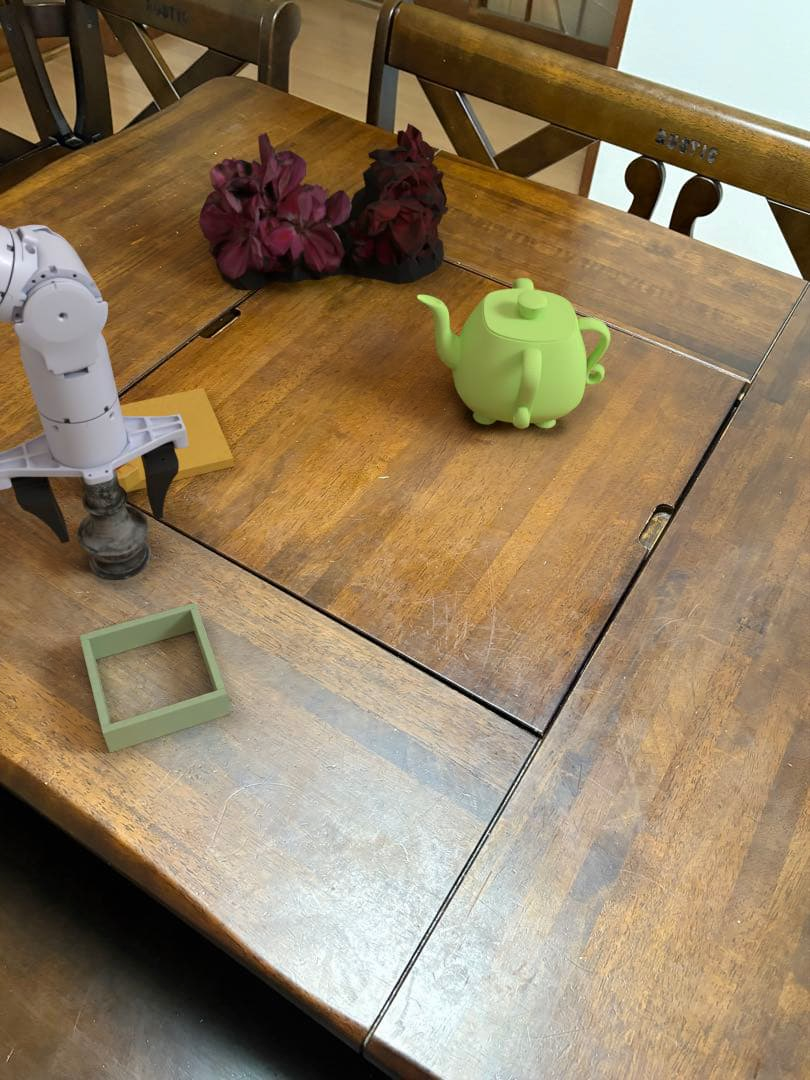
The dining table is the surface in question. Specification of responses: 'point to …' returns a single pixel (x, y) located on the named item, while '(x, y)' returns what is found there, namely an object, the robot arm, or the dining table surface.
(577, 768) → the dining table surface
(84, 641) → the green square tray
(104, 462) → the robot arm
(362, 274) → the flower arrangement
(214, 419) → the control block
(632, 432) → the dining table surface
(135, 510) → the chess piece
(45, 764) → the dining table surface
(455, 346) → the teapot
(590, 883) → the dining table surface
